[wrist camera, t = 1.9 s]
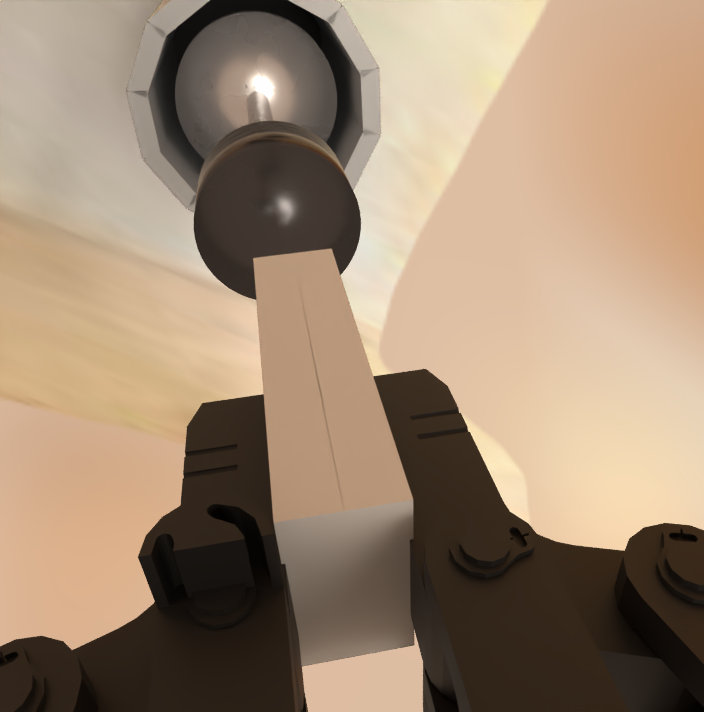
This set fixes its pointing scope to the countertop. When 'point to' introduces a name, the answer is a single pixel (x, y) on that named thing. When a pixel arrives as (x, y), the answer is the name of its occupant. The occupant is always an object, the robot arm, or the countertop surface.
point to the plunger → (263, 146)
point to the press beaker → (165, 51)
